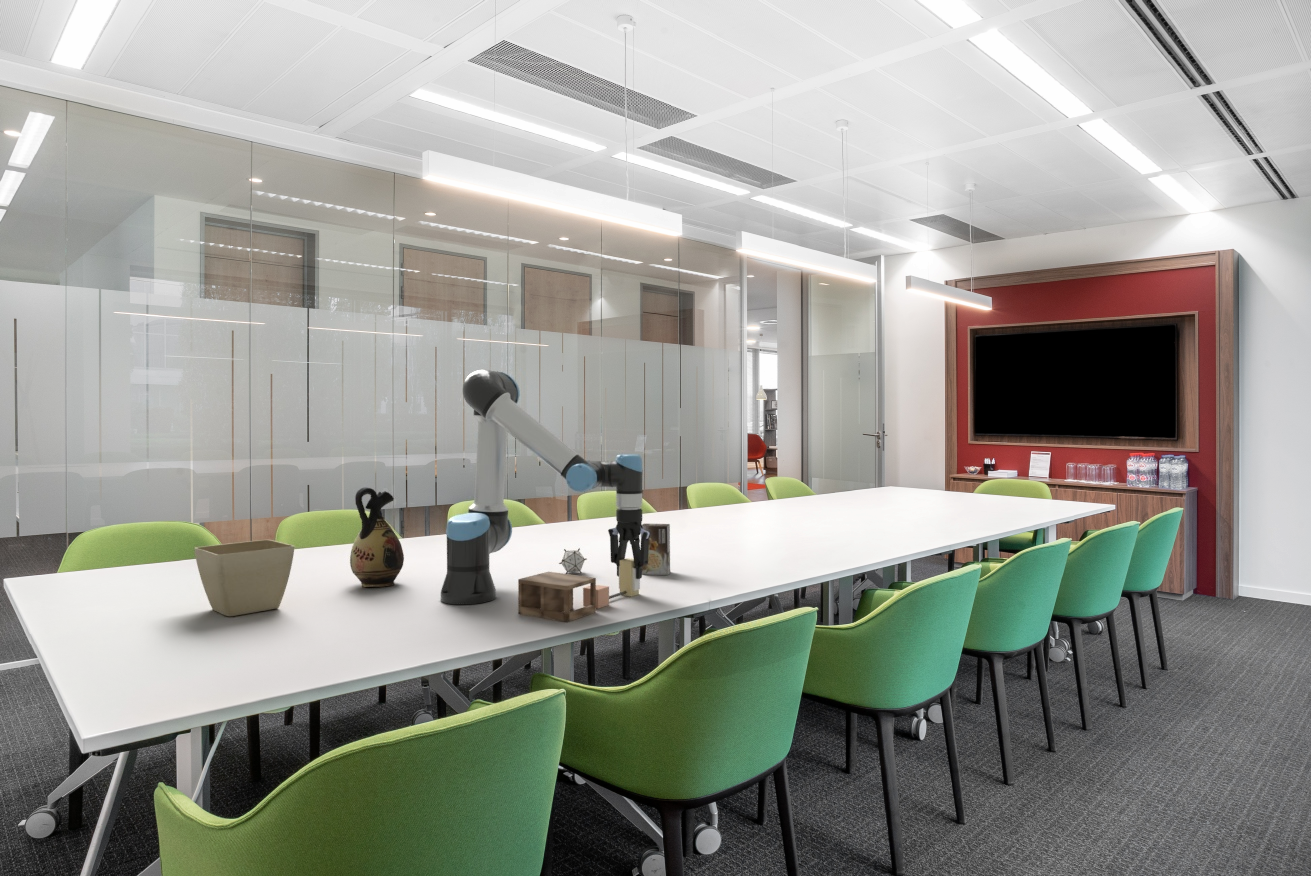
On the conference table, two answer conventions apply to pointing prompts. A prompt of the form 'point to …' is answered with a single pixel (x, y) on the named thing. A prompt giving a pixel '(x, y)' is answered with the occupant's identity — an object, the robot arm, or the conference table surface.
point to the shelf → (553, 596)
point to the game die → (573, 561)
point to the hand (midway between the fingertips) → (629, 588)
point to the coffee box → (658, 549)
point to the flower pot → (245, 575)
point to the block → (603, 591)
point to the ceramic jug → (375, 543)
